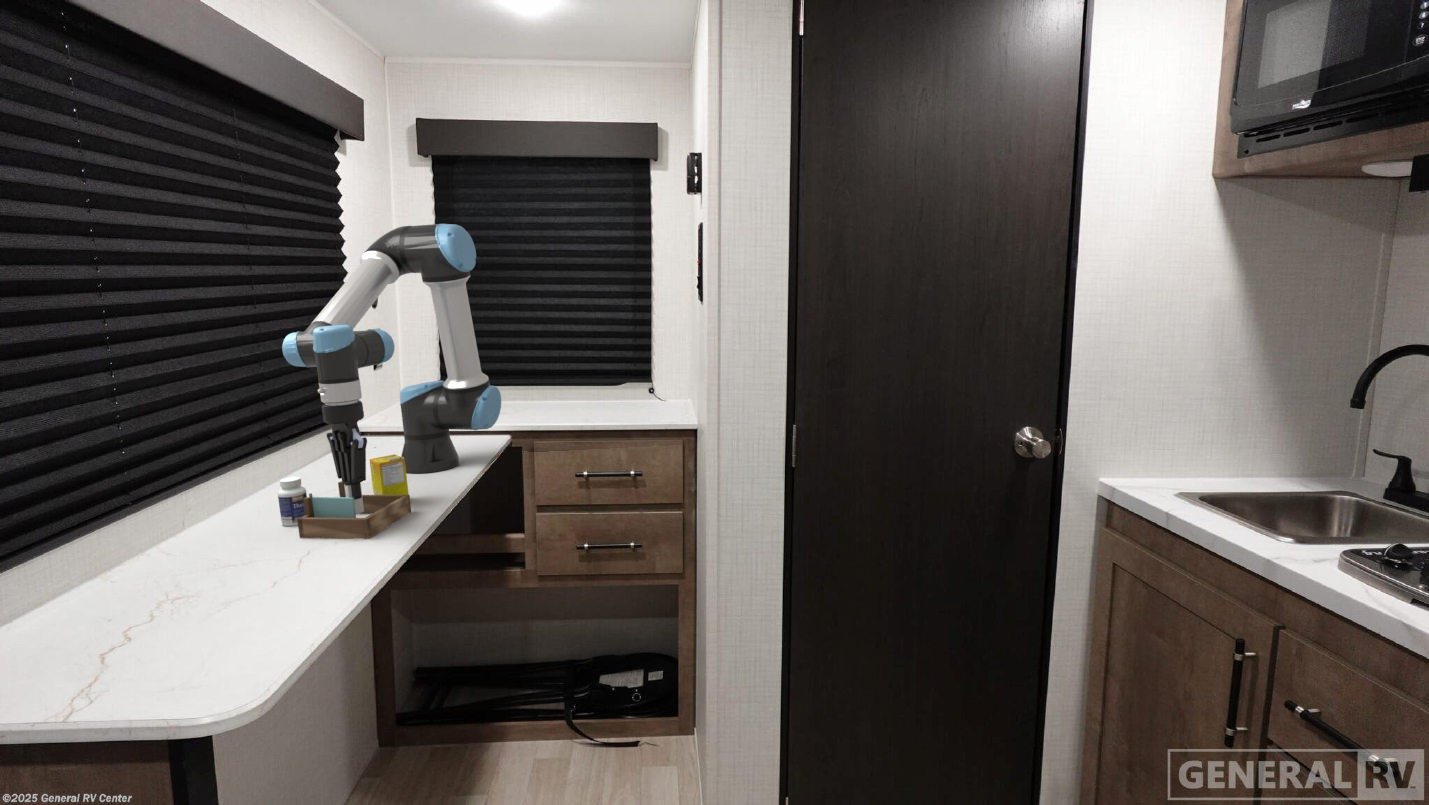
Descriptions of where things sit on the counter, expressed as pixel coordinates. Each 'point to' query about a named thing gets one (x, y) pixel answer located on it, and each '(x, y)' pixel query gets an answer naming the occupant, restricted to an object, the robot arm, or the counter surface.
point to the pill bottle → (291, 500)
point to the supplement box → (389, 475)
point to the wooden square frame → (382, 516)
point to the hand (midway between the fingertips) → (356, 512)
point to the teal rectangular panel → (333, 507)
